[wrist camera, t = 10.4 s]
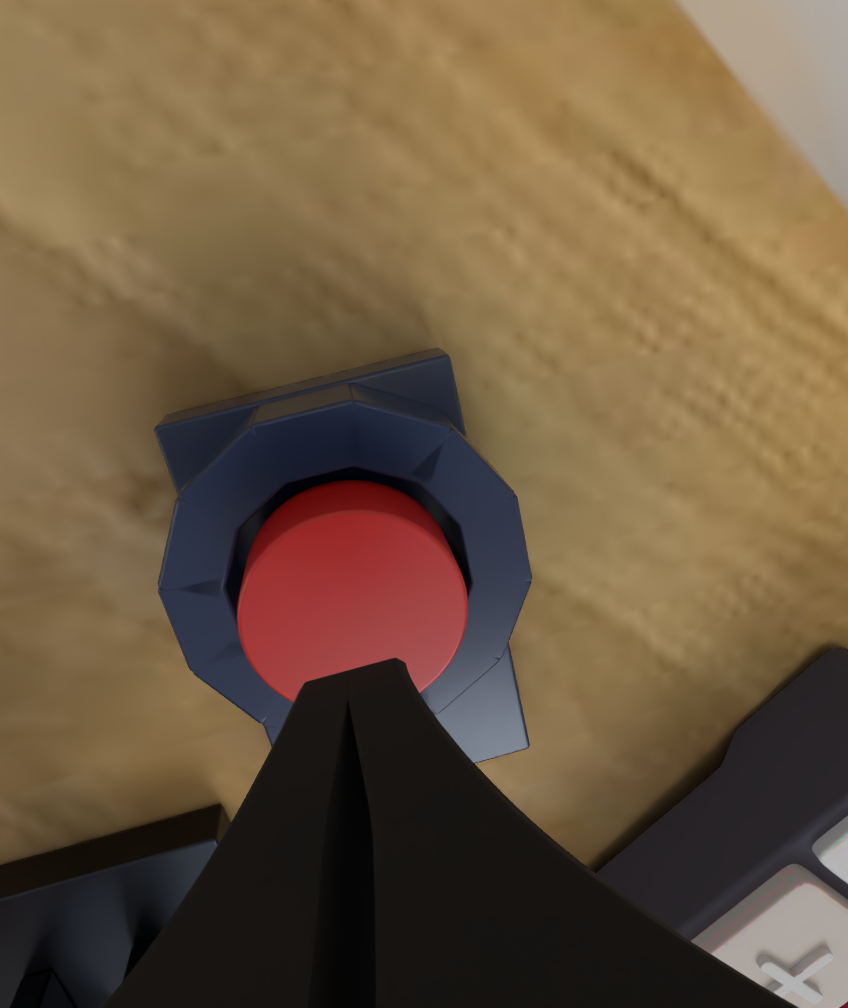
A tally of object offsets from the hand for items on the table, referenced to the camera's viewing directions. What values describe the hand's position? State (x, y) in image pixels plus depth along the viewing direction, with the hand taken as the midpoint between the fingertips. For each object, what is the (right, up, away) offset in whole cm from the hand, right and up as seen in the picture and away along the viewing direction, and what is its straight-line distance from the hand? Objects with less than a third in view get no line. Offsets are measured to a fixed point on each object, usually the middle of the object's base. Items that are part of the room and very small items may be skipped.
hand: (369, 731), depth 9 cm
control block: (-1, +1, +7) cm, 8 cm away
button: (-1, +2, +4) cm, 5 cm away
